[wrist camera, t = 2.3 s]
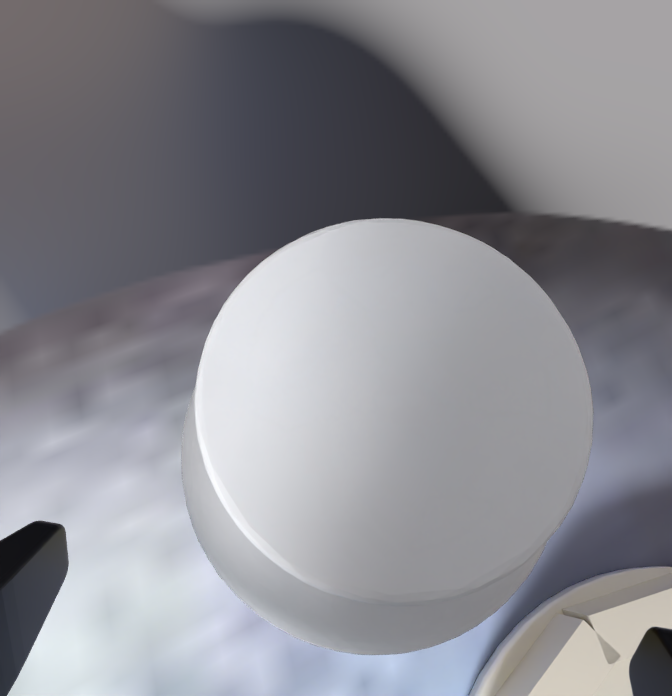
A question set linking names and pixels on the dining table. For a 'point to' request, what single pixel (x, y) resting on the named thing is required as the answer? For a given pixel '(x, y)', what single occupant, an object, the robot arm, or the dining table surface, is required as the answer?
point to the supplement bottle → (384, 435)
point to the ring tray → (581, 637)
